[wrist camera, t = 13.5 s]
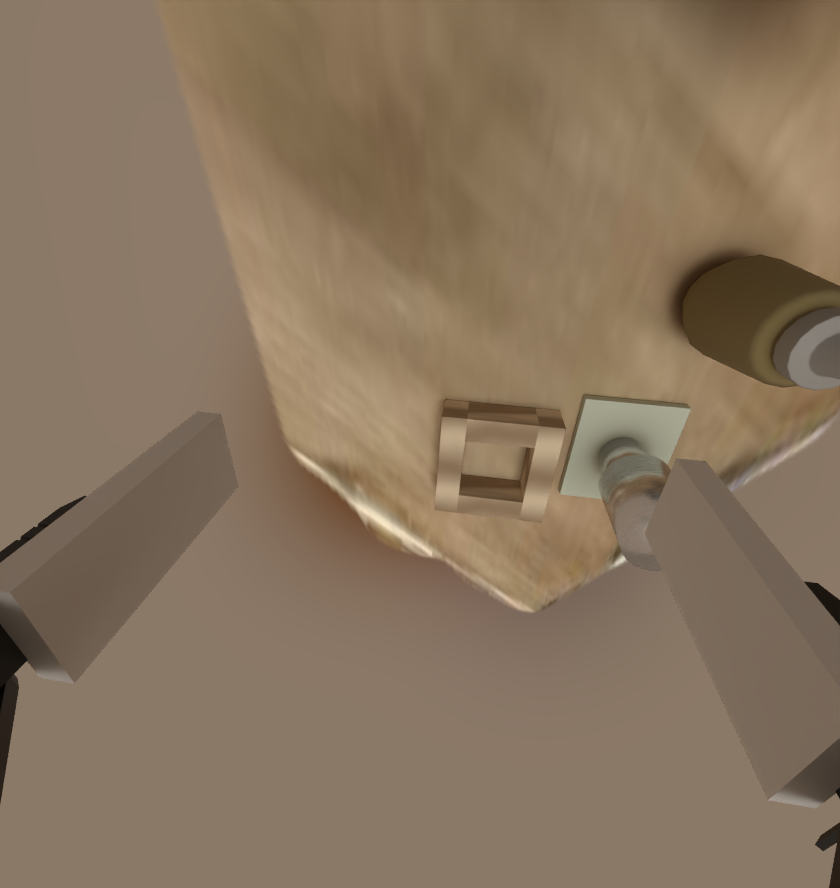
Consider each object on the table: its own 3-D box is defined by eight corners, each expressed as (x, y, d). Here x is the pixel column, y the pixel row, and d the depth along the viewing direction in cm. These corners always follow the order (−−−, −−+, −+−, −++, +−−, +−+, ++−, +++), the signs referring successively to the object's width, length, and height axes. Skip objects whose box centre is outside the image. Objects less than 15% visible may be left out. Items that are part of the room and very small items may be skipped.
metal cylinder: (596, 425, 43) (634, 505, 32) (662, 431, 42) (724, 515, 31) (581, 476, 46) (611, 565, 35) (642, 483, 46) (692, 575, 35)
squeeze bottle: (661, 272, 36) (790, 332, 21) (770, 232, 34) (1009, 266, 18) (673, 357, 40) (792, 461, 24) (773, 326, 37) (975, 420, 22)
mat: (584, 394, 43) (586, 399, 42) (687, 404, 42) (691, 408, 41) (558, 488, 49) (559, 494, 48) (647, 498, 48) (650, 504, 47)
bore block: (445, 399, 45) (442, 416, 41) (559, 410, 44) (566, 428, 40) (437, 488, 51) (434, 510, 48) (537, 500, 50) (541, 522, 47)
